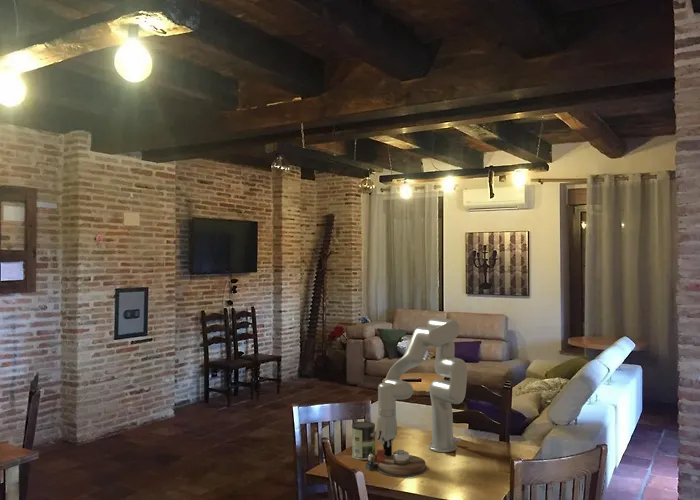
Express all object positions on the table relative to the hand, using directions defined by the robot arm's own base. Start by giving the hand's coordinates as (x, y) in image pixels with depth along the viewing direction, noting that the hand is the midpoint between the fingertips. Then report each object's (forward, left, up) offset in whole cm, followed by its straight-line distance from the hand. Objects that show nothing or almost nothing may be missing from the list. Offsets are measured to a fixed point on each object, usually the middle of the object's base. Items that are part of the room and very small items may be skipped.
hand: (387, 455), depth 250 cm
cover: (-1, +8, -1) cm, 8 cm away
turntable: (-2, +8, -4) cm, 8 cm away
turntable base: (-2, +8, -4) cm, 8 cm away
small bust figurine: (+9, +2, -4) cm, 10 cm away
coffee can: (+4, -13, -4) cm, 15 cm away
